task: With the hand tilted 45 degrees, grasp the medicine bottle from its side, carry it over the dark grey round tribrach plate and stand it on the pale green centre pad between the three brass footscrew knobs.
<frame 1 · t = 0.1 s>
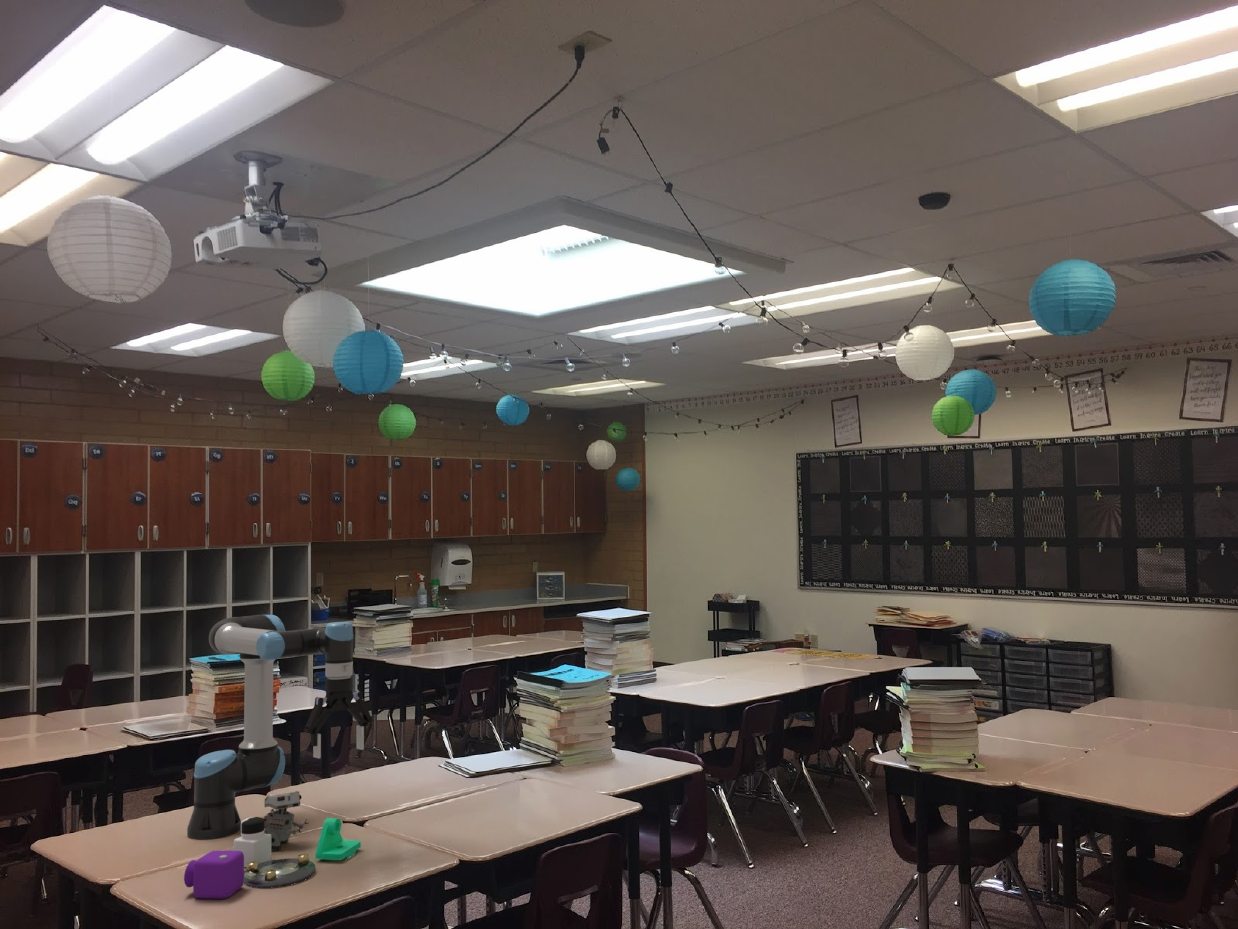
hand: (338, 753, 269), 28 cm above the table, tool pointing down, fingers open, 13 cm apart
camera mount: (339, 857, 266), on the table
toy camera: (212, 894, 239), on the table
medicine bottle: (252, 864, 261), on the table
figurine: (284, 847, 276), on the table
tribrach plate: (279, 875, 251), on the table
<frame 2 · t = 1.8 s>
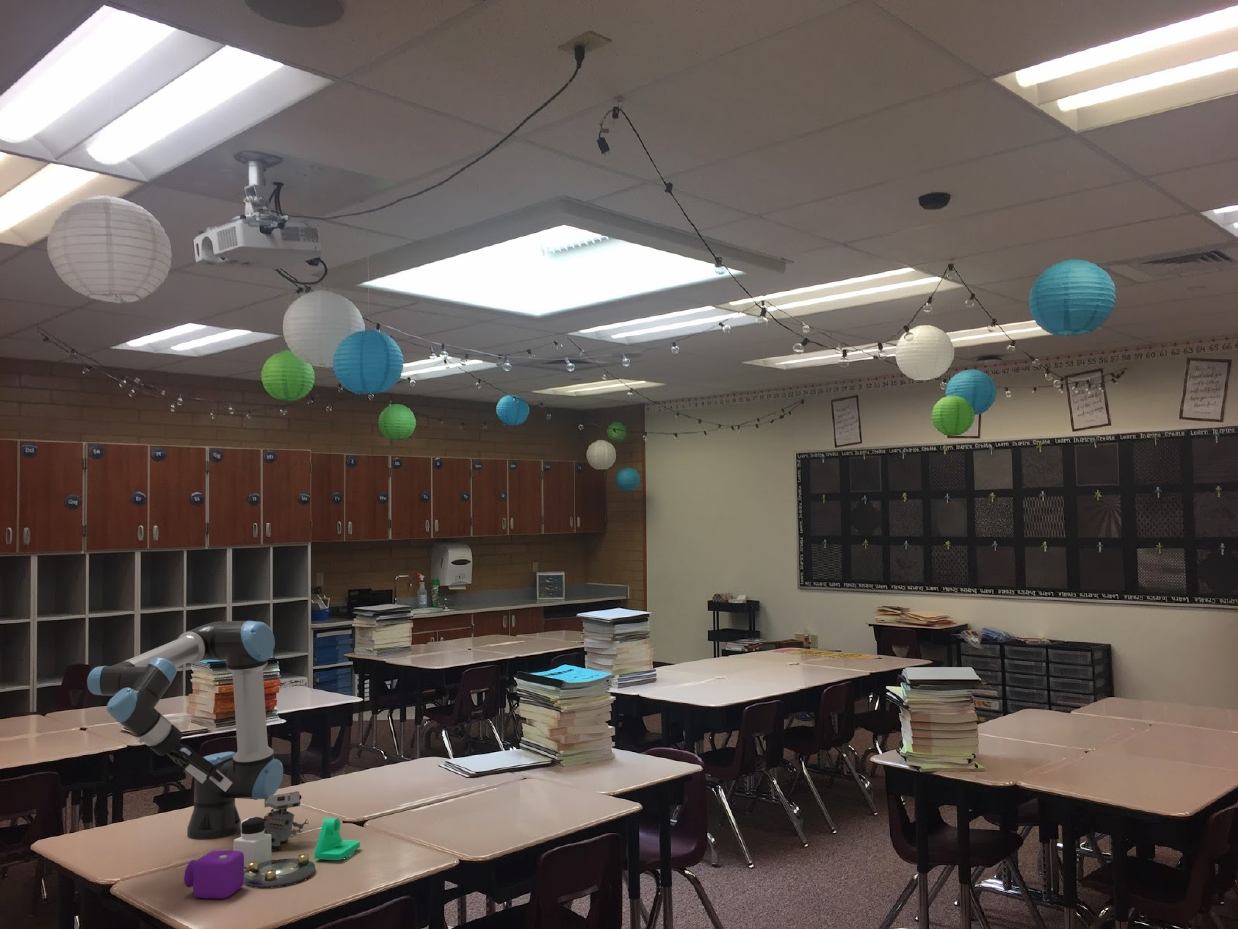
hand: (216, 783, 256), 24 cm above the table, tool tilted 45°, fingers open, 13 cm apart
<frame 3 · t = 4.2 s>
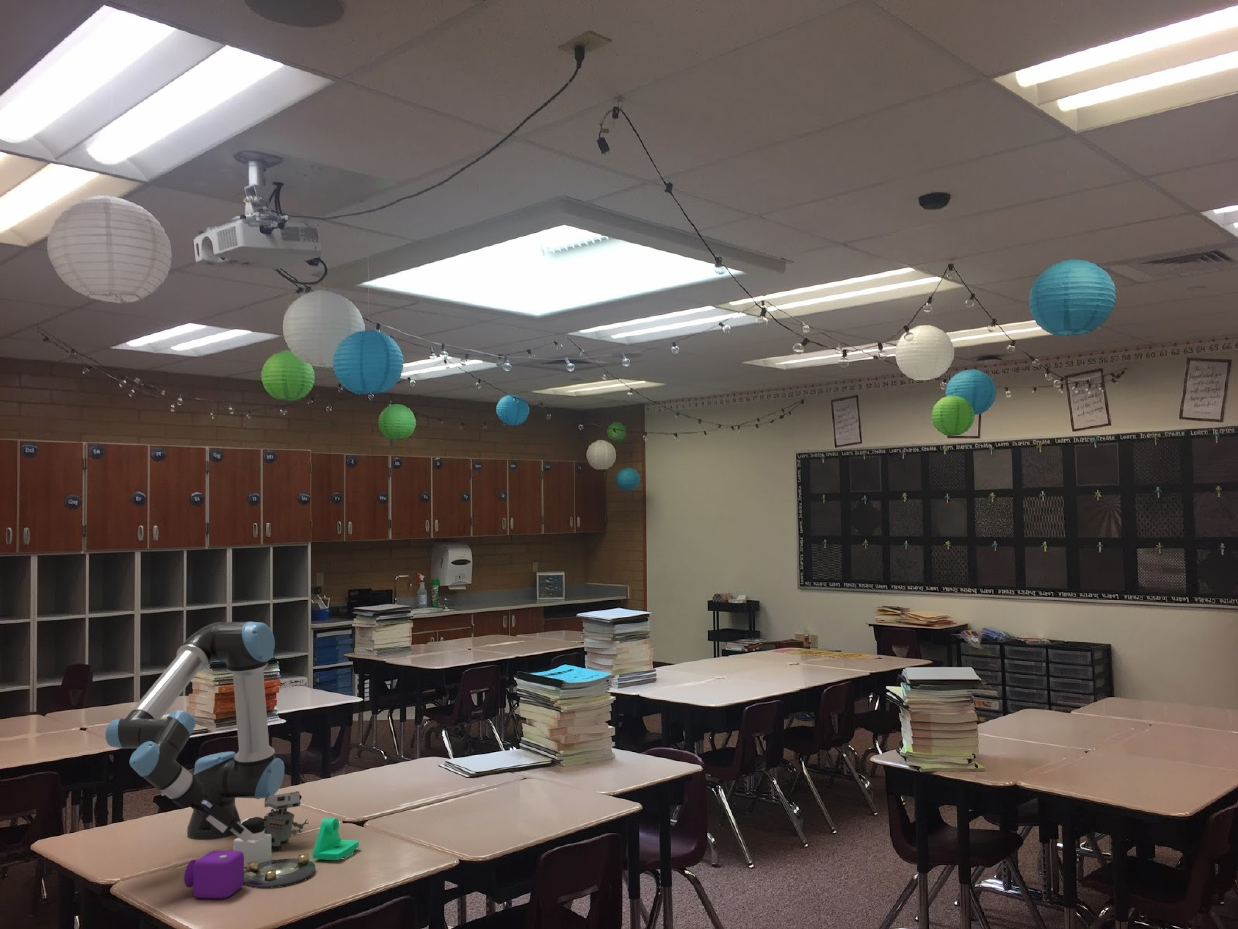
hand: (237, 833, 258), 9 cm above the table, tool tilted 45°, fingers open, 13 cm apart
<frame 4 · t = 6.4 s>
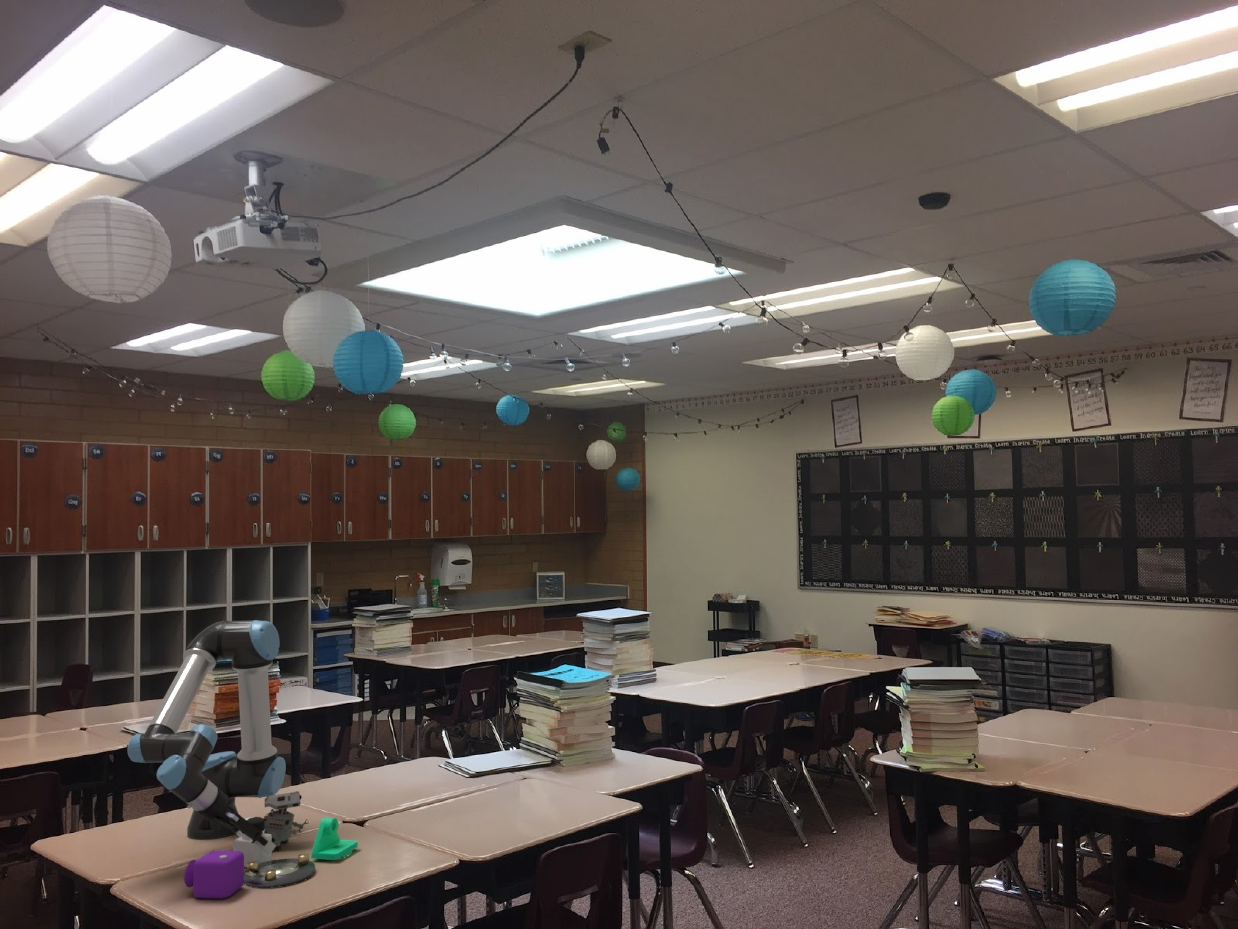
hand: (263, 846, 264), 4 cm above the table, tool tilted 45°, fingers closed on medicine bottle, 9 cm apart
medicine bottle: (252, 864, 261), on the table, touching gripper
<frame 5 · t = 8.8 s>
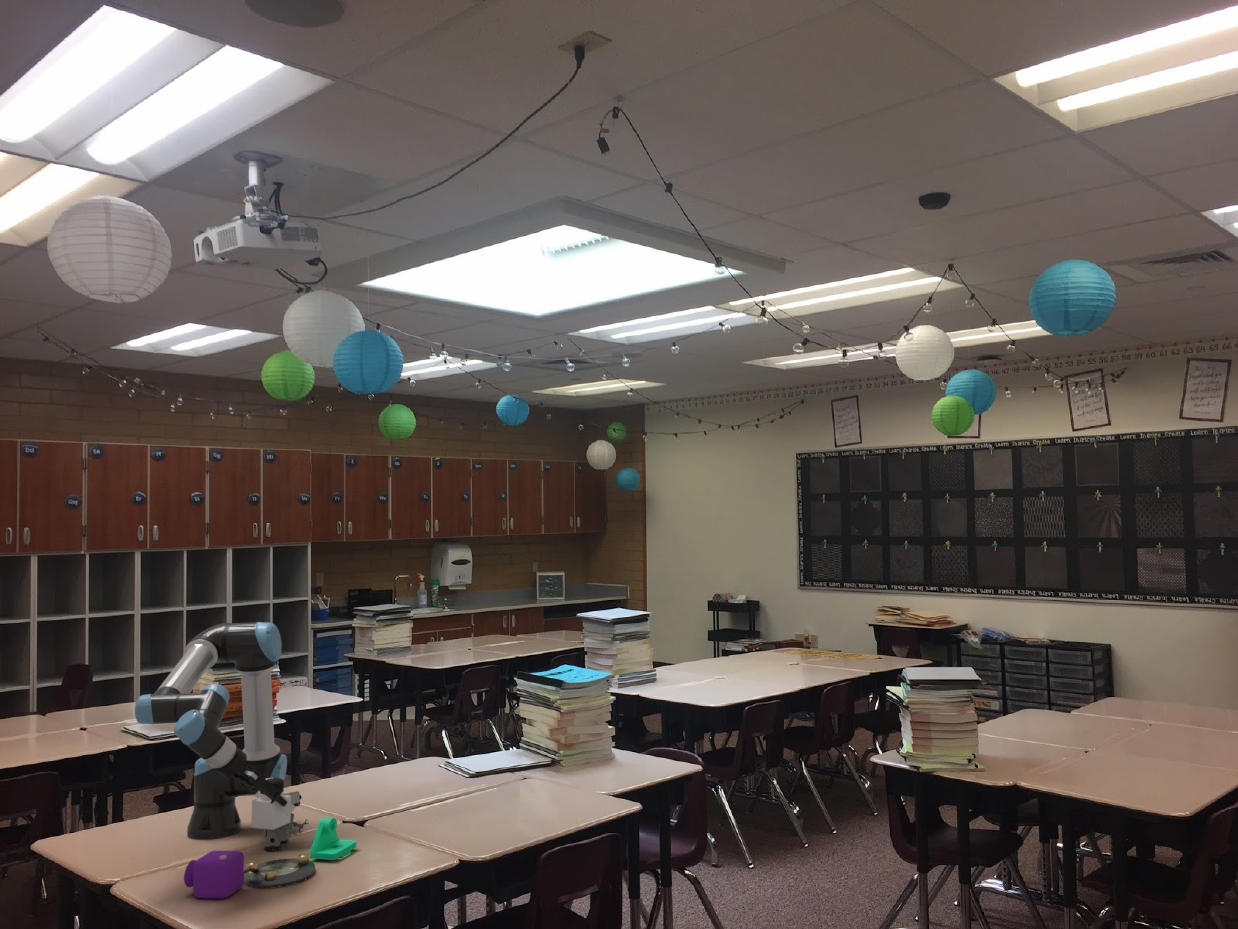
hand: (282, 808, 256), 17 cm above the table, tool tilted 45°, fingers closed on medicine bottle, 9 cm apart
medicine bottle: (271, 826, 253), point 13 cm above the table, touching gripper
when the fingers open (7 cm above the table, at t = 11.2 s): medicine bottle drops 1 cm, resting on tribrach plate.
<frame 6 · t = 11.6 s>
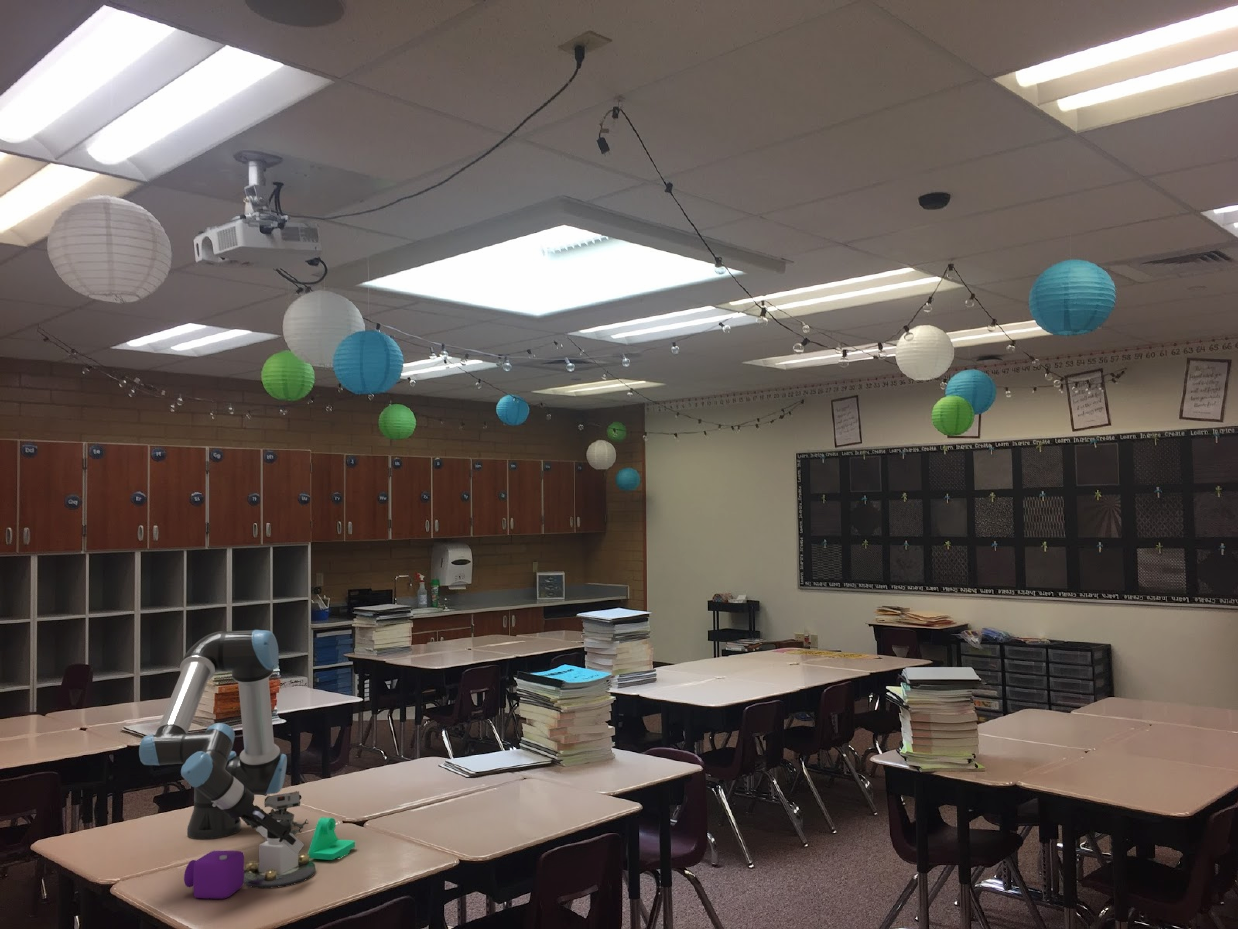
hand: (287, 843, 254), 8 cm above the table, tool tilted 45°, fingers open, 13 cm apart
medicine bottle: (278, 870, 251), point 2 cm above the table, touching tribrach plate
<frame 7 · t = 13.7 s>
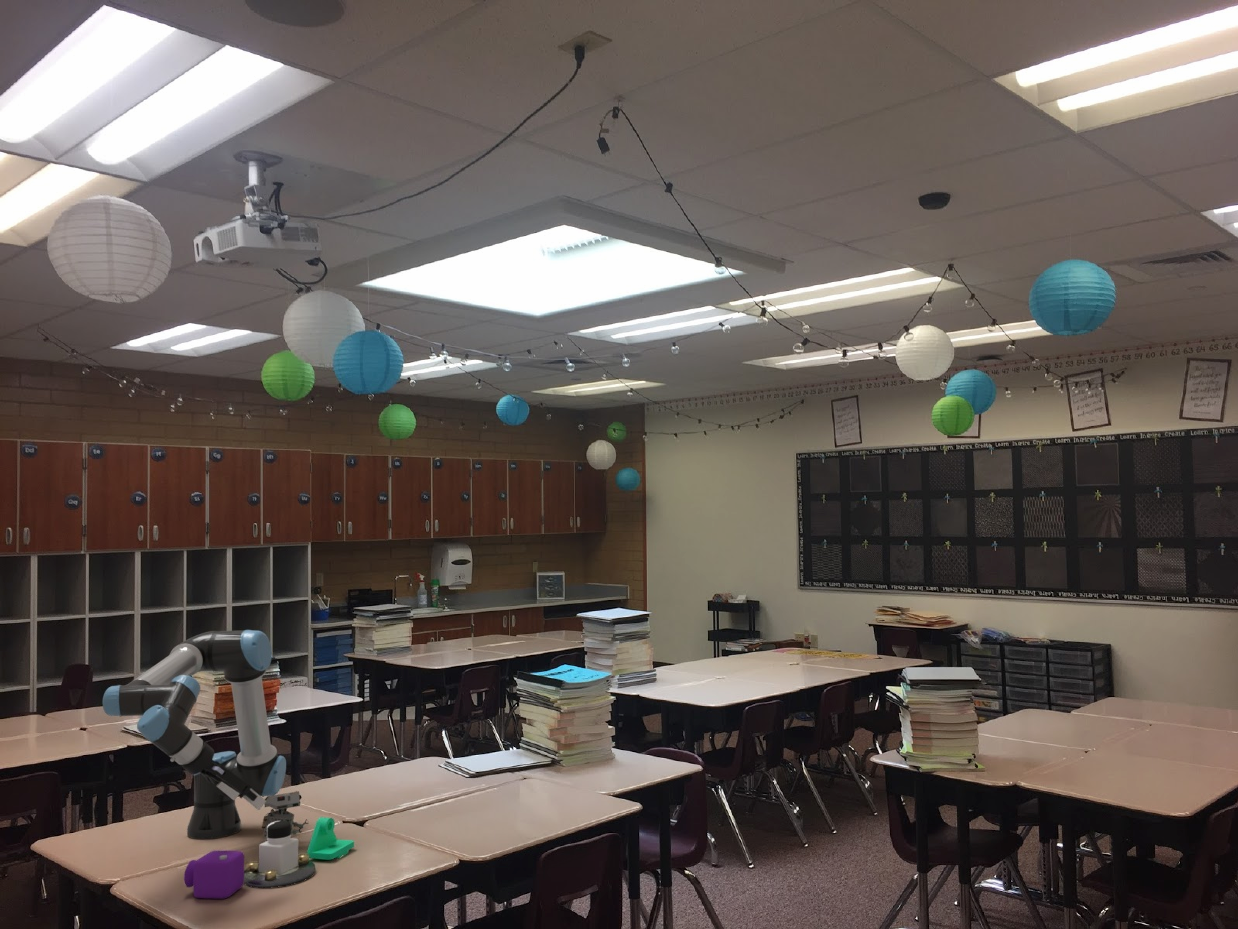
hand: (249, 800, 248), 21 cm above the table, tool tilted 45°, fingers open, 13 cm apart
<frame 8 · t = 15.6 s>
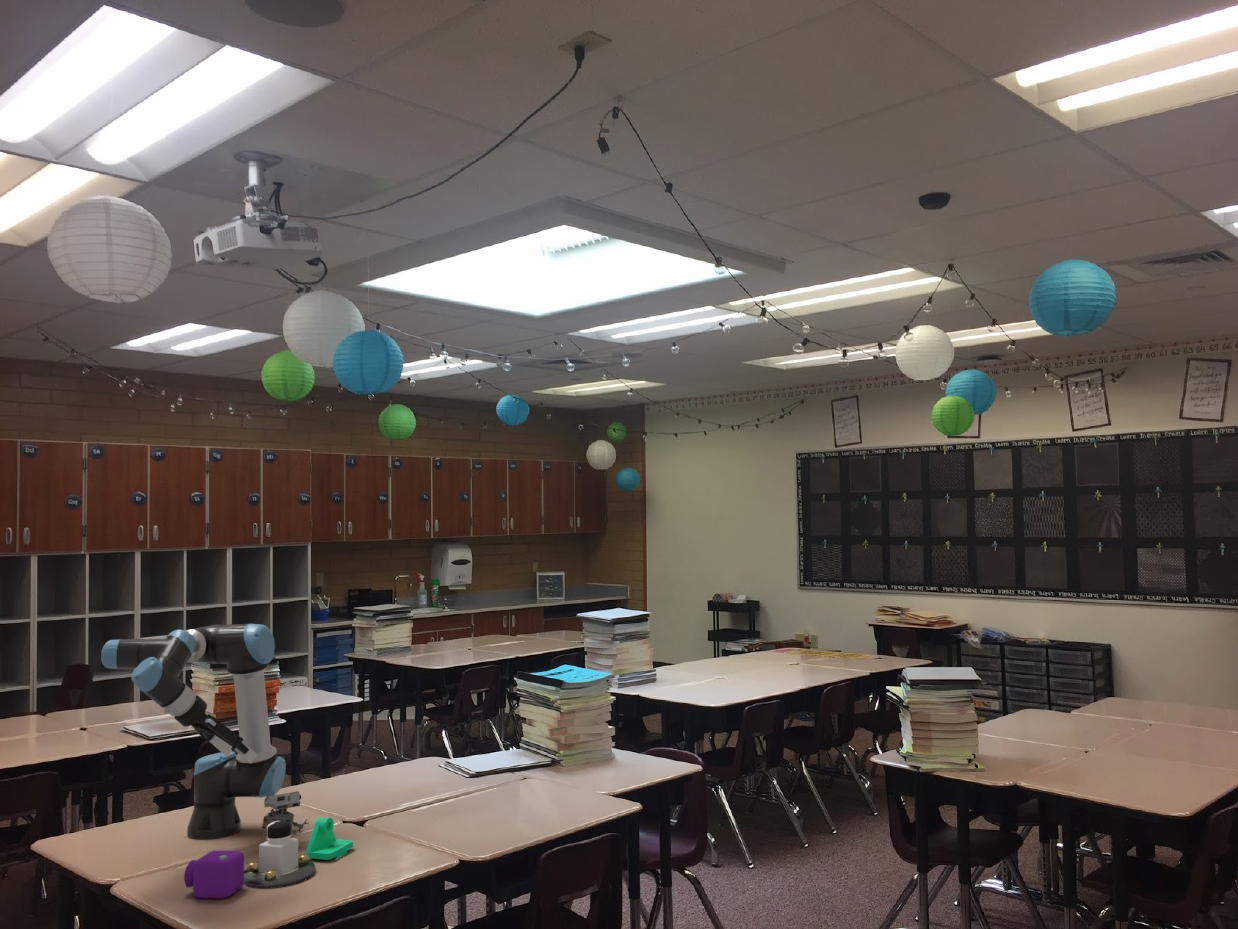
hand: (241, 755, 252), 32 cm above the table, tool tilted 45°, fingers open, 13 cm apart
at the end: medicine bottle 0.1 cm from the tribrach plate (horizontally); medicine bottle tilted 0°; the gripper is holding nothing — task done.
